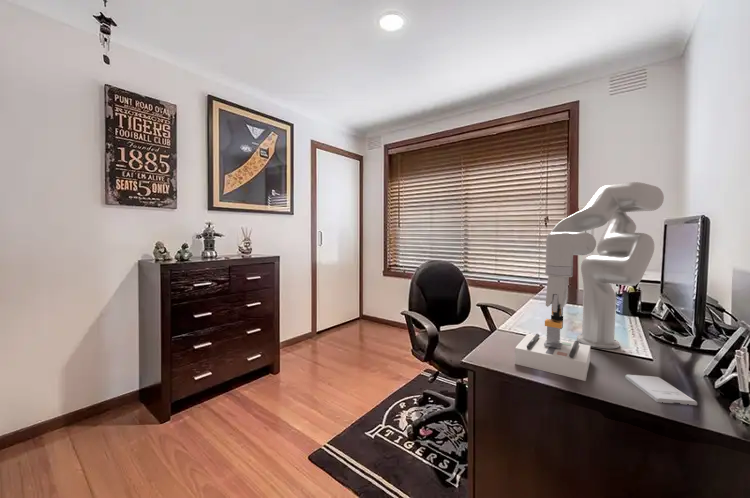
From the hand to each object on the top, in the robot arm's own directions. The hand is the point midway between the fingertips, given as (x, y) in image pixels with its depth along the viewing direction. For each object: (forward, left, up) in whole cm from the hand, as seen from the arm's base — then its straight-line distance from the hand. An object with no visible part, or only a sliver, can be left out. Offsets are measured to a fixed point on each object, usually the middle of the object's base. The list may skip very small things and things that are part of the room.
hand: (556, 327), depth 102 cm
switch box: (+7, 0, -9) cm, 12 cm away
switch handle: (+7, 0, -4) cm, 8 cm away
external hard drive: (+10, +24, -10) cm, 28 cm away
